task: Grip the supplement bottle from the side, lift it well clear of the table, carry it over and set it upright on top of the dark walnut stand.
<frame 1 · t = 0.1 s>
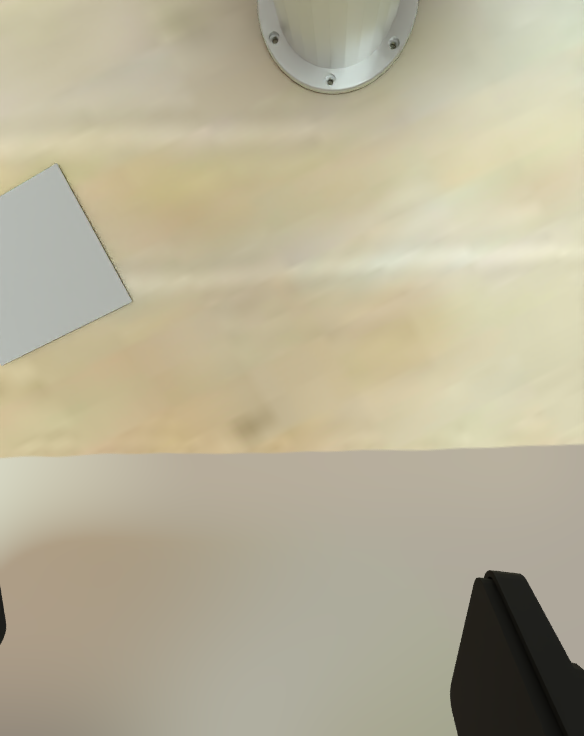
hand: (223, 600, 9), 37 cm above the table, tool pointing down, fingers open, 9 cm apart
paper stack: (39, 207, 44), on the table
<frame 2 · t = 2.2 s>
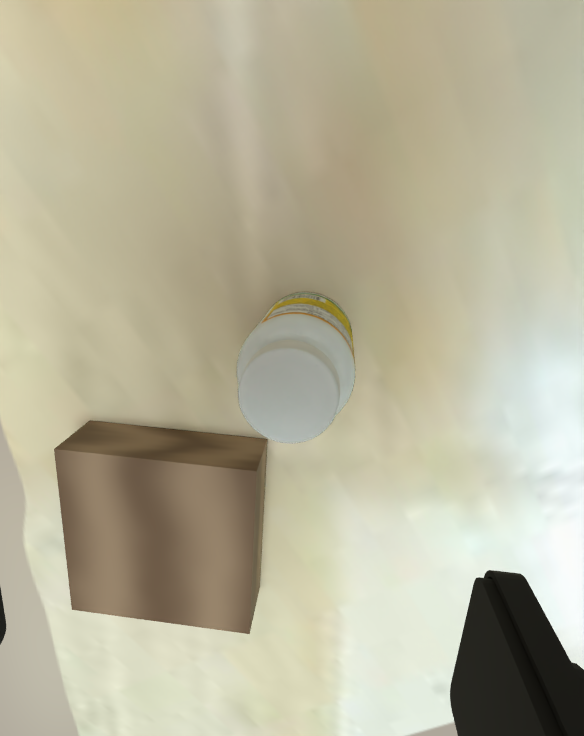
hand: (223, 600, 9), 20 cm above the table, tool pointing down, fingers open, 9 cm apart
walnut stand: (178, 507, 32), on the table
supplement bottle: (306, 336, 27), on the table
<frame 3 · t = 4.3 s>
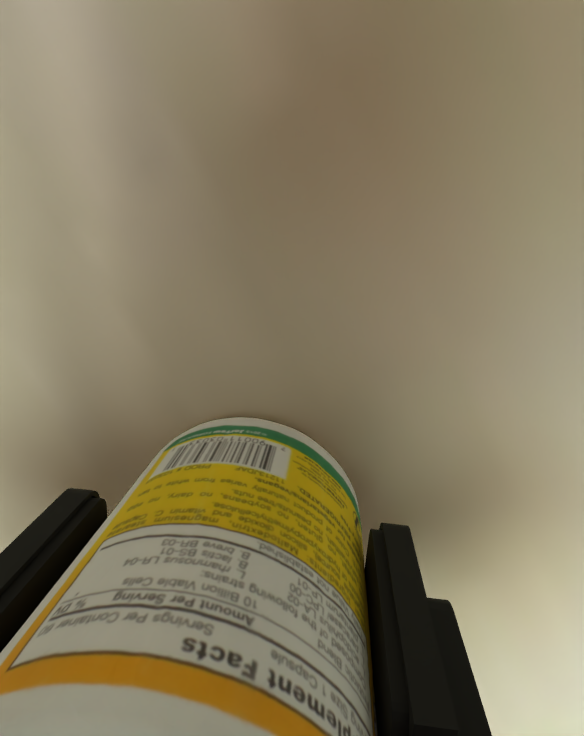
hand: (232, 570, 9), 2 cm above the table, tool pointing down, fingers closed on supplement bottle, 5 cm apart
supplement bottle: (251, 507, 12), on the table, touching gripper
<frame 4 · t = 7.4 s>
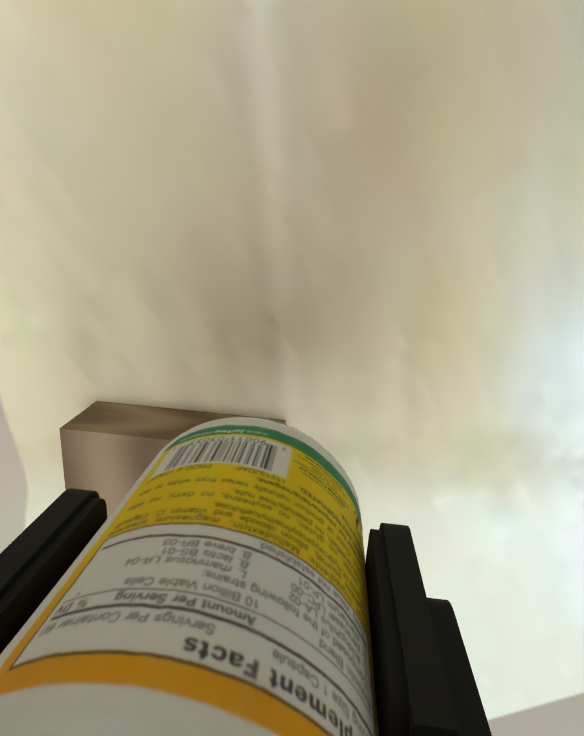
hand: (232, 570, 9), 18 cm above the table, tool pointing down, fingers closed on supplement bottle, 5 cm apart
walnut stand: (190, 494, 30), on the table
supplement bottle: (252, 507, 12), point 16 cm above the table, touching gripper
when the fingers open (8 cm above the table, at t = 10.7 s): supplement bottle drops 2 cm, resting on walnut stand.
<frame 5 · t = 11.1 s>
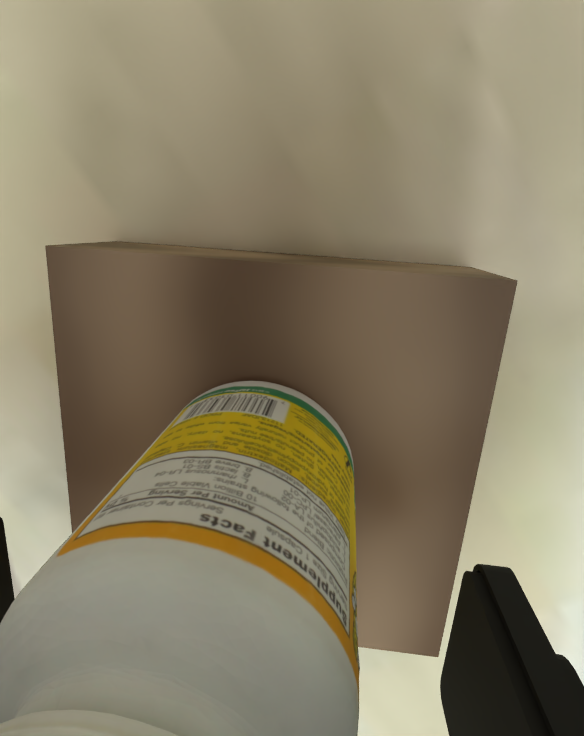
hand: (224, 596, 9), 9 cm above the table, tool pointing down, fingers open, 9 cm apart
walnut stand: (278, 418, 17), on the table
supplement bottle: (260, 462, 13), point 4 cm above the table, touching walnut stand
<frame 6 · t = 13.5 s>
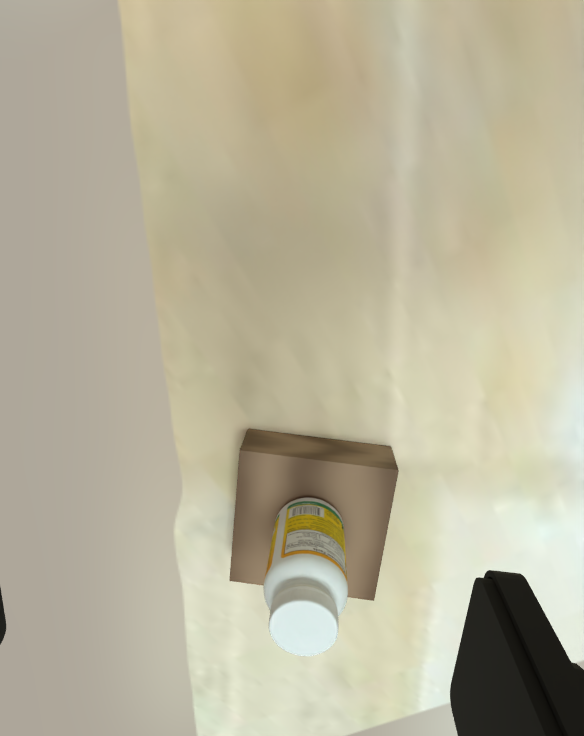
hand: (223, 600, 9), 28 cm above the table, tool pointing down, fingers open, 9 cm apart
walnut stand: (311, 500, 40), on the table
supplement bottle: (308, 524, 36), point 4 cm above the table, touching walnut stand
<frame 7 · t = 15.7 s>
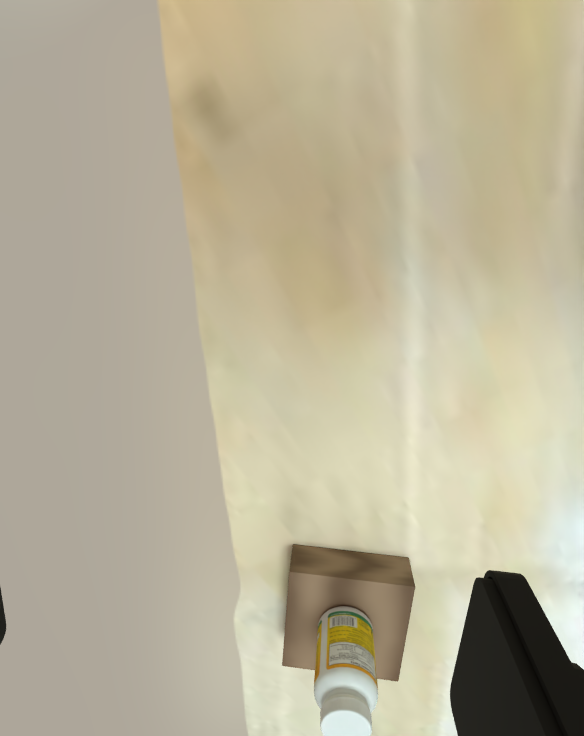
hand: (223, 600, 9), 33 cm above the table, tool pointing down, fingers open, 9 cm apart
walnut stand: (344, 597, 49), on the table
supplement bottle: (344, 624, 46), point 4 cm above the table, touching walnut stand
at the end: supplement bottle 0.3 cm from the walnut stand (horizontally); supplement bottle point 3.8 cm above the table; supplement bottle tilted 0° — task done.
